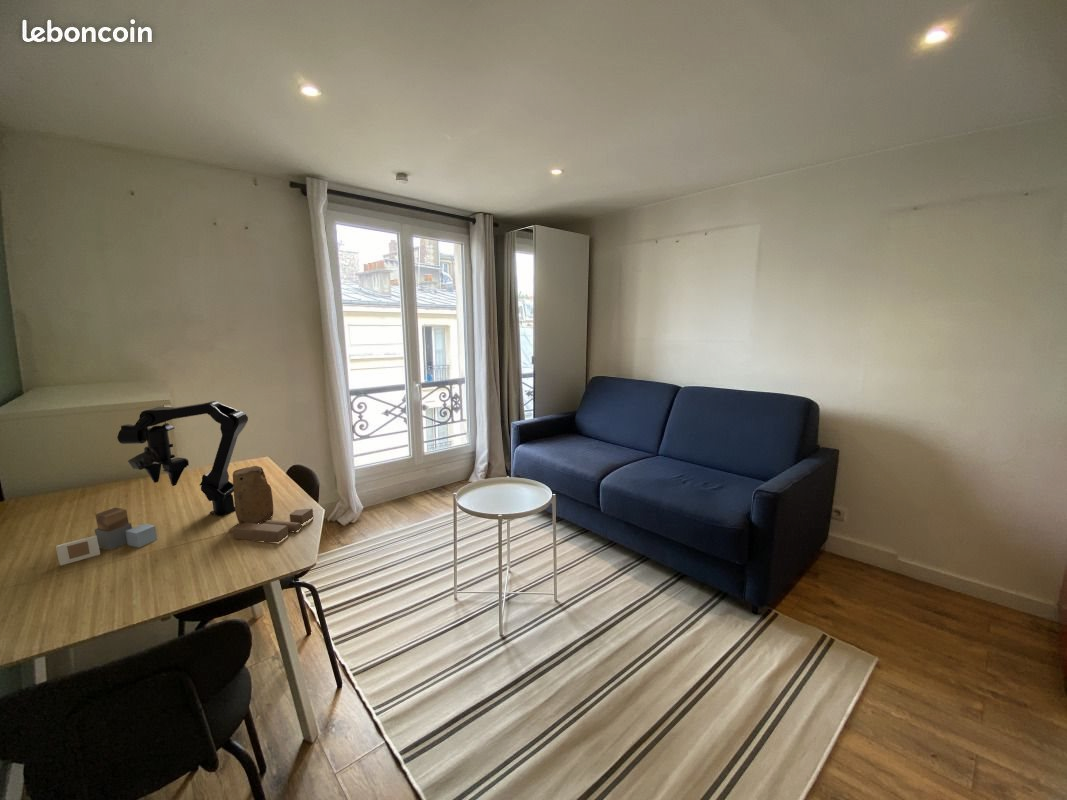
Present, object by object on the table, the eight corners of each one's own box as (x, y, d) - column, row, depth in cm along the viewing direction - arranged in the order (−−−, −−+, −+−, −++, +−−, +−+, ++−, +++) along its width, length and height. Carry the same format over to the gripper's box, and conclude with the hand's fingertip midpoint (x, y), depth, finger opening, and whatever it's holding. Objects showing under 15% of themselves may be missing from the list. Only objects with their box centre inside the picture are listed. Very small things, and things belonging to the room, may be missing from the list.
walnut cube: (128, 523, 129) (126, 509, 128) (109, 531, 124) (106, 516, 123) (118, 521, 130) (115, 507, 129) (98, 529, 126) (95, 514, 125)
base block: (134, 540, 130) (131, 523, 129) (110, 550, 125) (107, 532, 124) (121, 537, 132) (118, 520, 131) (97, 547, 126) (94, 529, 125)
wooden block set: (279, 529, 129) (230, 524, 131) (281, 545, 130) (232, 540, 132) (315, 506, 145) (270, 502, 148) (316, 520, 146) (272, 516, 149)
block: (239, 529, 138) (232, 475, 135) (236, 522, 144) (229, 469, 140) (276, 519, 146) (270, 467, 142) (271, 512, 151) (265, 462, 147)
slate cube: (157, 539, 131) (154, 525, 130) (138, 547, 126) (136, 533, 125) (146, 537, 132) (144, 523, 132) (127, 545, 128) (125, 530, 127)
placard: (60, 564, 117) (56, 545, 116) (100, 553, 123) (96, 535, 122) (60, 566, 116) (55, 547, 115) (100, 554, 122) (96, 536, 121)
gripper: (112, 446, 138) (120, 489, 141) (150, 452, 133) (157, 496, 136) (150, 438, 148) (156, 477, 151) (187, 443, 143) (193, 484, 146)
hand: (165, 483), depth 146 cm, fingers open, 9 cm apart
